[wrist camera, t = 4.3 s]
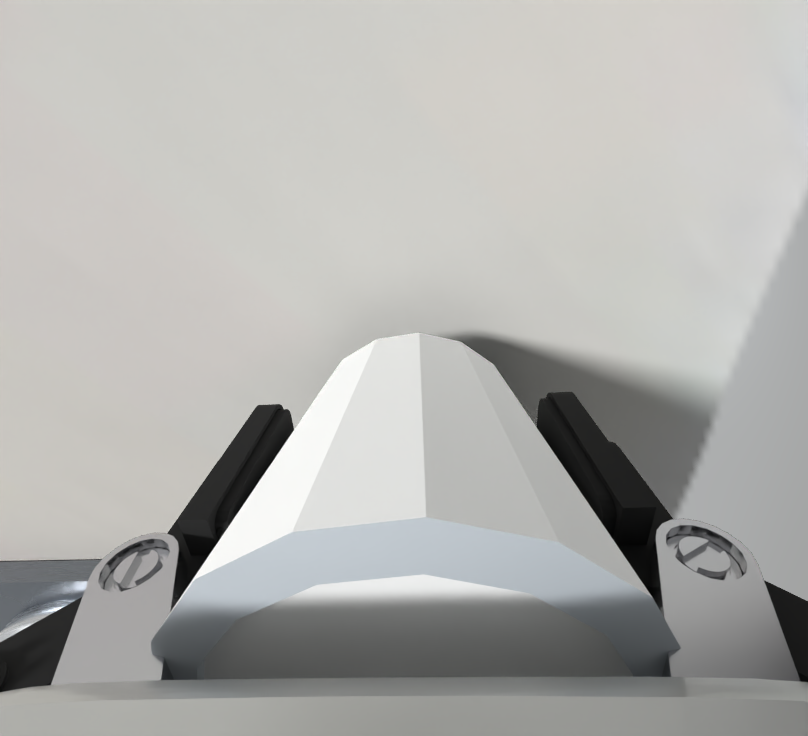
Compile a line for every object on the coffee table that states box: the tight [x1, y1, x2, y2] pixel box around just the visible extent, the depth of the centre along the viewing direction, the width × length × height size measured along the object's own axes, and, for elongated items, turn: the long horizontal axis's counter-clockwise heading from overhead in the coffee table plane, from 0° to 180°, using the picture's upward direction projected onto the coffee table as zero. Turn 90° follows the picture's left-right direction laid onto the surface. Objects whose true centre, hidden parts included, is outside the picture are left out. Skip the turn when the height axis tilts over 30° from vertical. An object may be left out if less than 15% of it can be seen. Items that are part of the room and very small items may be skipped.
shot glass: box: [151, 333, 681, 680], centre depth 8 cm, size 7×7×7 cm
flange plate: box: [0, 560, 101, 642], centre depth 16 cm, size 12×24×6 cm, turn 94°
